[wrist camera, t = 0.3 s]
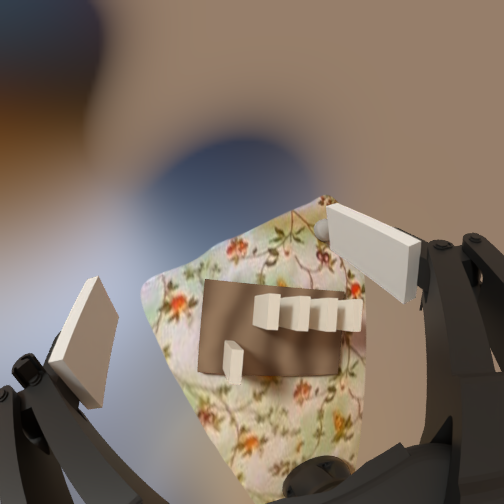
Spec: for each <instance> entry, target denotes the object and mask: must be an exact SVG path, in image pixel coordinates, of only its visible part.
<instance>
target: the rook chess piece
mask: <svg viewBox="0 0 504 504" xmlns="http://www.w3.org/2000/svg"><path fill="white" fill-rule="evenodd" d="M314 232H315V235H316V237H317V238H318V239H319V240H321V241H325V242H327V241H330V238H329V229H328V220H327V219H322V220H320V221H318V222H317V223H316V224H315V226H314Z"/></svg>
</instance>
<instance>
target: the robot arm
mask: <svg viewBox="0 0 504 504" xmlns="http://www.w3.org/2000/svg"><path fill="white" fill-rule="evenodd" d="M326 211H327V220H328V229H329V238H330V249H331V250H332V251H333V252H335V253H336V254H338V255H339V256H340V257H342V258H343V259H344V260H346V261H347V262H349V263H350V264H351V265H353V266H354V267H355V268H357V269H358V270H359V271H361V272H362V273H364V274H365V275H366V276H368V277H369V278H371V279H372V280H373V281H375V282H376V283H377V284H378V285H380V286H381V287H382V288H383V289H385V290H386V291H388V292H389V293H390V294H391V295H393V296H394V297H395V298H397V299H398V300H399V301H400V302H402V303H403V304H405V303H407V302H408V301H410V300H412V299H414V298H416V291H417V286H419V287H420V288H422V289H423V292H422V299H421V305H420V310H422V307H423V311H424V322H425V335H426V353H427V401H426V418H425V427H424V431H423V434H422V437H421V441H420V444H419V445H414V446H411V447H407V448H404V447H403V445H402V444H401V443H398V444H397V445H395V446H394V447H392V448H390V449H389V450H387V451H385V452H384V453H382V454H380V455H379V456H377V457H375V458H374V459H372V460H370V461H368V462H366V463H365V464H364V465H363V466H362V467H360V468H359V469H358V470H357V471H356V472H354V473H353V474H352V475H351V473H350V471H349V468H348V466H347V465H346V464H345V463H344V462H343V461H342V460H340V459H339V458H337V457H334V456H320V457H316V458H312V459H310V460H308V461H305V462H304V463H302V464H300V465H299V466H297V467H296V468H295V469H294V470H292V471H291V472H290V474H289V475H288V476H287V477H286V479H285V481H284V483H283V494H284V496H285V498H283V499H280V500H277V501H273V502H270V503H267V504H504V255H503V254H502V253H501V252H500V251H499V250H498V249H497V248H496V247H494V246H493V245H492V244H491V243H490V242H489V241H488V240H487V239H486V238H484V237H483V236H481V235H479V234H477V233H476V234H475V233H469V234H465V235H464V236H463V243H462V245H460V246H454V245H453V244H452V243H450V242H448V241H445V240H433V241H430V242H429V243H428V242H425V241H424V240H422V239H420V238H418V237H416V236H414V235H411V234H409V233H407V232H405V231H403V230H401V229H399V228H395V227H391V226H388V225H386V224H384V223H382V222H380V221H377V220H375V219H373V218H371V217H369V216H366V215H364V214H362V213H359V212H357V211H355V210H352V209H350V208H347V207H345V206H343V205H340V204H338V203H336V204H332V205H328V206H326ZM481 274H482V275H483V282H481V281H480V278H481ZM118 318H119V316H118V314H117V312H116V310H115V308H114V306H113V304H112V303H111V301H110V299H109V297H108V295H107V293H106V291H105V288H104V287H103V284H102V282H101V280H100V278H99V276H96V277H94V278H90V279H88V280H87V281H86V283H85V285H84V286H83V288H82V290H81V292H80V294H79V296H78V298H77V300H76V302H75V304H74V306H73V308H72V310H71V312H70V314H69V316H68V318H67V320H66V322H65V324H64V326H63V329H62V331H60V333H59V334H58V335H57V336H56V337H55V339H54V341H53V344H52V347H51V348H50V351H49V353H48V355H47V358H46V360H45V363H44V365H43V366H42V365H41V364H40V362H39V361H38V360H37V359H36V357H35V356H34V355H33V354H32V353H28V354H25V355H24V356H22V357H21V358H19V359H18V360H17V361H16V363H15V364H14V365H13V368H12V374H13V376H14V377H15V378H16V379H17V381H18V382H19V383H20V384H21V385H22V387H23V388H24V390H22V391H20V392H18V393H16V392H15V391H14V389H13V388H12V387H11V386H9V385H6V386H4V387H2V388H1V389H0V500H1V504H74V503H73V500H72V497H71V495H70V492H69V490H68V487H67V484H66V482H65V478H64V475H63V472H62V469H63V471H64V472H65V474H66V475H67V477H68V479H69V480H70V482H71V483H72V485H73V486H74V488H75V489H76V491H77V492H78V494H79V495H80V496H81V498H82V499H83V501H84V502H85V503H86V504H169V503H168V502H167V501H166V500H164V499H163V498H162V497H161V496H160V495H159V494H157V493H156V492H155V491H154V490H153V489H152V488H151V487H149V486H148V485H147V484H146V483H145V482H144V481H143V480H142V479H141V478H140V477H139V476H138V475H137V474H136V473H135V472H134V471H132V469H130V467H129V466H128V465H127V464H126V463H125V462H124V461H123V460H122V459H121V458H120V457H119V456H118V455H117V454H116V453H115V451H114V450H113V449H112V448H111V447H110V446H109V445H108V444H107V442H106V441H105V440H104V439H103V438H102V437H101V435H100V434H99V433H98V432H97V430H96V429H95V428H94V427H93V426H92V424H91V423H90V422H89V420H88V419H87V418H86V416H85V415H84V414H83V412H82V411H81V410H79V408H78V406H79V401H80V402H81V403H82V404H83V405H84V406H85V407H86V408H87V409H95V408H102V406H103V398H104V391H105V385H106V378H107V372H108V367H109V361H110V356H111V350H112V346H113V341H114V336H115V331H116V327H117V323H118ZM490 348H491V350H492V352H493V354H494V356H495V358H496V361H497V363H498V365H499V367H500V369H501V371H502V372H495V369H494V364H493V359H492V354H491V350H490ZM61 467H62V469H61Z"/></svg>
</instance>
